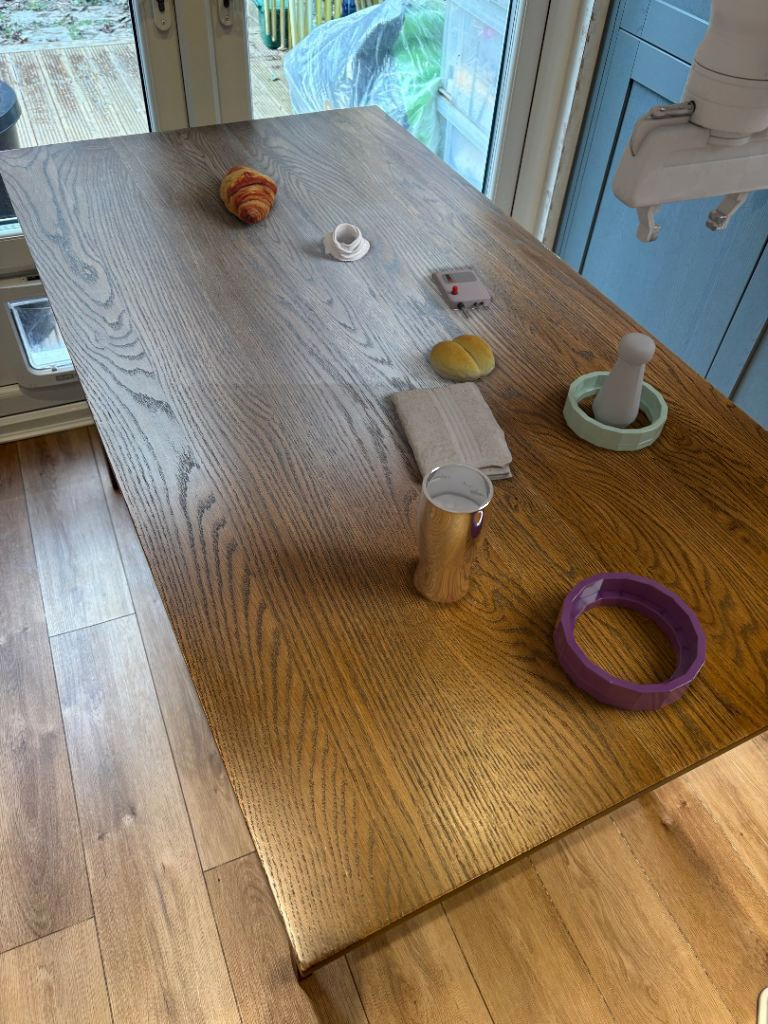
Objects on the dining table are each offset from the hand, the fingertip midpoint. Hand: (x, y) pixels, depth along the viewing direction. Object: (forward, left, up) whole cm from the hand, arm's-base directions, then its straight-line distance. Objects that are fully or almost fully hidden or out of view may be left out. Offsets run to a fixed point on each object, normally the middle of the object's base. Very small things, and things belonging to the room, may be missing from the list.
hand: (680, 233), depth 83 cm
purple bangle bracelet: (+11, +38, -25) cm, 47 cm away
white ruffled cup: (+35, -42, -26) cm, 60 cm away
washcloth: (+24, +6, -26) cm, 35 cm away
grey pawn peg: (+2, +3, -25) cm, 25 cm away
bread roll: (+20, -10, -26) cm, 34 cm away
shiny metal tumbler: (+28, +29, -26) cm, 47 cm away
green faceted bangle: (+2, +3, -25) cm, 25 cm away
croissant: (+52, -59, -26) cm, 83 cm away
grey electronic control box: (+17, -29, -26) cm, 42 cm away
